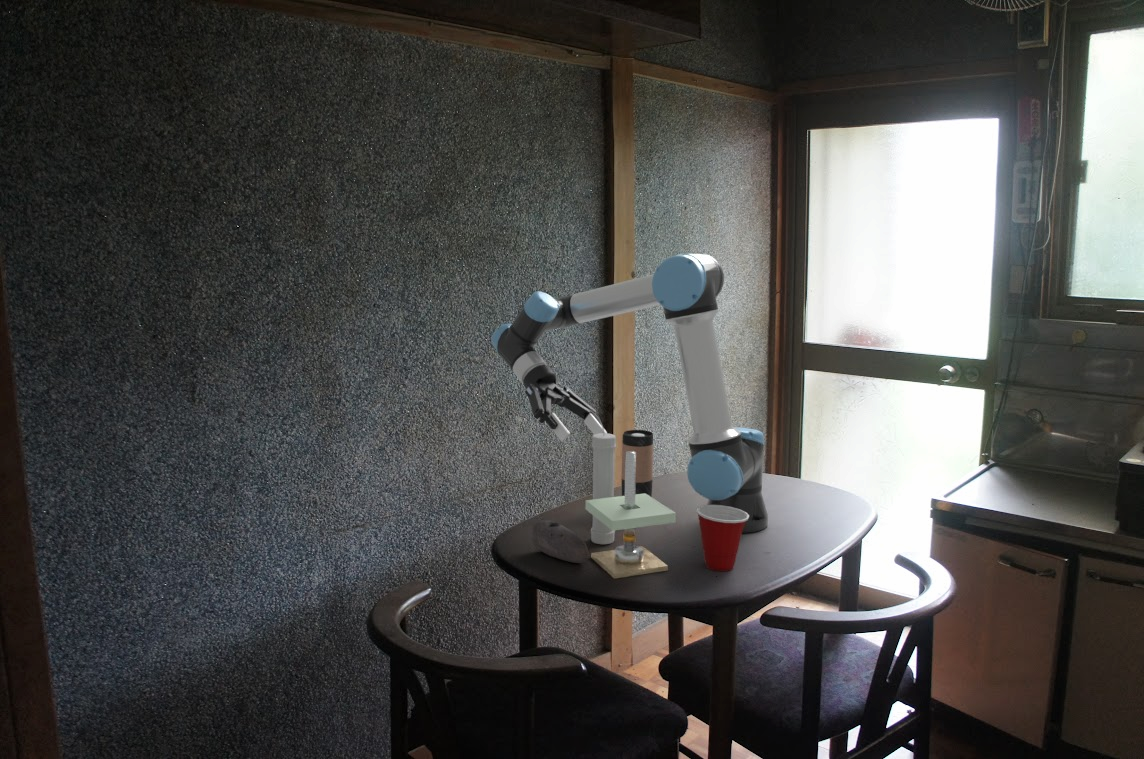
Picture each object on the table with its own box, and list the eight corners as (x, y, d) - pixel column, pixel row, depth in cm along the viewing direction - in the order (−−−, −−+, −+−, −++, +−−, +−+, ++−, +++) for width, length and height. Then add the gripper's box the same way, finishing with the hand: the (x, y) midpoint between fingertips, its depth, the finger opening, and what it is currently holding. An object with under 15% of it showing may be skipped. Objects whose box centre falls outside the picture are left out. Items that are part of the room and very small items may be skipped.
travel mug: (658, 513, 211) (660, 434, 207) (633, 518, 207) (635, 438, 203) (638, 505, 217) (640, 428, 214) (614, 510, 213) (615, 432, 209)
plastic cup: (756, 573, 174) (759, 516, 172) (708, 578, 171) (710, 521, 169) (732, 554, 184) (734, 500, 182) (686, 559, 181) (687, 504, 179)
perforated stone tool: (595, 564, 178) (596, 533, 177) (577, 571, 175) (578, 539, 174) (547, 545, 189) (547, 515, 188) (529, 551, 185) (529, 521, 184)
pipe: (613, 546, 189) (614, 413, 184) (585, 543, 190) (586, 411, 185) (616, 537, 194) (618, 408, 189) (589, 535, 195) (590, 406, 190)
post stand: (591, 557, 182) (592, 448, 178) (642, 550, 186) (644, 443, 182) (614, 578, 171) (616, 462, 167) (667, 570, 175) (670, 456, 171)
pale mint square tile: (585, 509, 181) (585, 500, 180) (645, 502, 186) (645, 493, 185) (612, 530, 168) (612, 521, 168) (675, 522, 173) (675, 512, 173)
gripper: (560, 388, 216) (608, 447, 206) (490, 384, 197) (540, 450, 186) (576, 365, 213) (626, 425, 203) (507, 360, 194) (558, 425, 183)
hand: (585, 437), depth 195 cm, fingers open, 13 cm apart
